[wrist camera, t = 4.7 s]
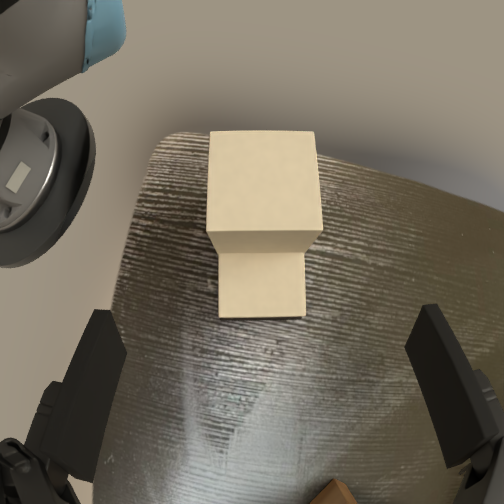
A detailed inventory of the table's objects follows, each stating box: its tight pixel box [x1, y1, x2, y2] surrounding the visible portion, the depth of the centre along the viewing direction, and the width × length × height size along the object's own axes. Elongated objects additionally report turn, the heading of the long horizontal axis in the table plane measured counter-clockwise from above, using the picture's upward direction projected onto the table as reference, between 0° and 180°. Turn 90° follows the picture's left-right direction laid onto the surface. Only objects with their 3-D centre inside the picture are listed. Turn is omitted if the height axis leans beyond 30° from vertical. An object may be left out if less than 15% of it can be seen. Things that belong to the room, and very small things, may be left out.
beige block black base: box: [206, 131, 323, 320], centre depth 22 cm, size 11×6×10 cm, turn 1°
